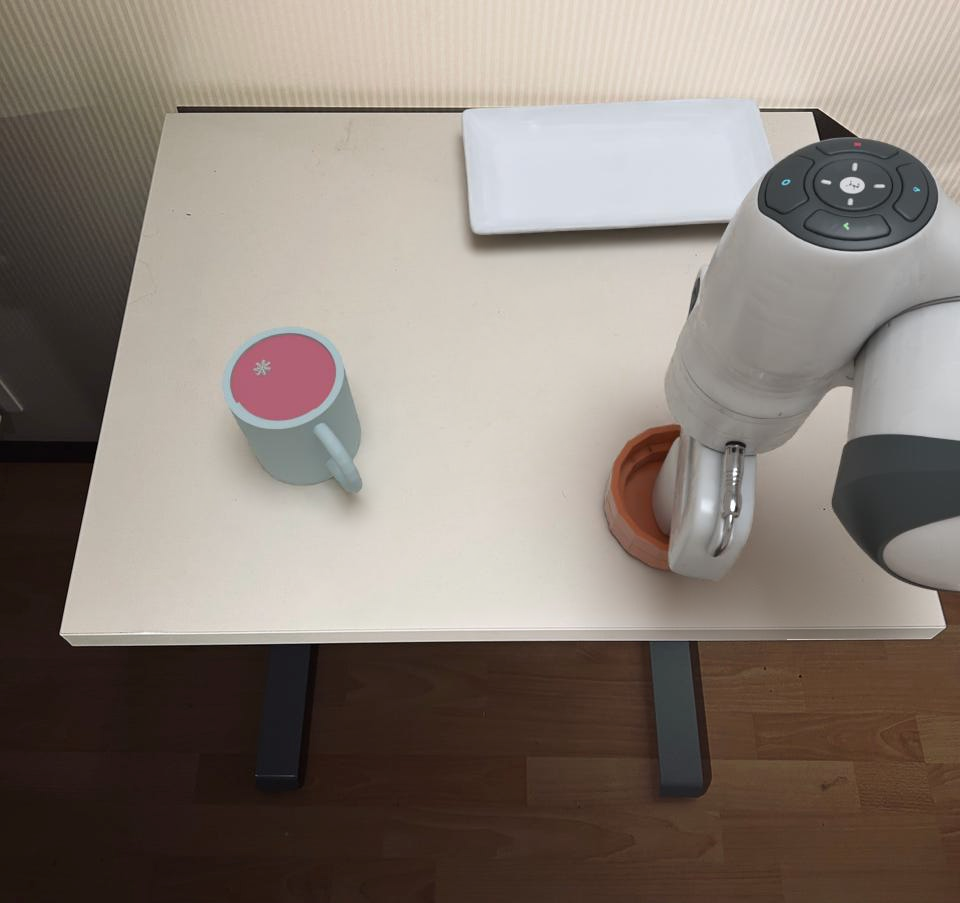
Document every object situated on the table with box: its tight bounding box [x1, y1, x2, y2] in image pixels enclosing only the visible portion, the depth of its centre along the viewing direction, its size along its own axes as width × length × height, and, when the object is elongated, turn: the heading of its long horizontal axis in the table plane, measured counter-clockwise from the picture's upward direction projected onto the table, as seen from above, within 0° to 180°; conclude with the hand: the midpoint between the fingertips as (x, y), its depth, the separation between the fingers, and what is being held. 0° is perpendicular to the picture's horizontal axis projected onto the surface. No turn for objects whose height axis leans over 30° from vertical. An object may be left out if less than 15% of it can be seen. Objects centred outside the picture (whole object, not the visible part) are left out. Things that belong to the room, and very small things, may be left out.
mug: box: [221, 326, 363, 494], centre depth 64 cm, size 14×9×10 cm
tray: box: [460, 97, 776, 236], centre depth 82 cm, size 17×31×4 cm, turn 94°
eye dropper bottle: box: [652, 437, 680, 536], centre depth 61 cm, size 4×6×12 cm
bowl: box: [603, 423, 681, 572], centre depth 65 cm, size 11×11×4 cm
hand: (687, 475), depth 61 cm, fingers open, 8 cm apart
